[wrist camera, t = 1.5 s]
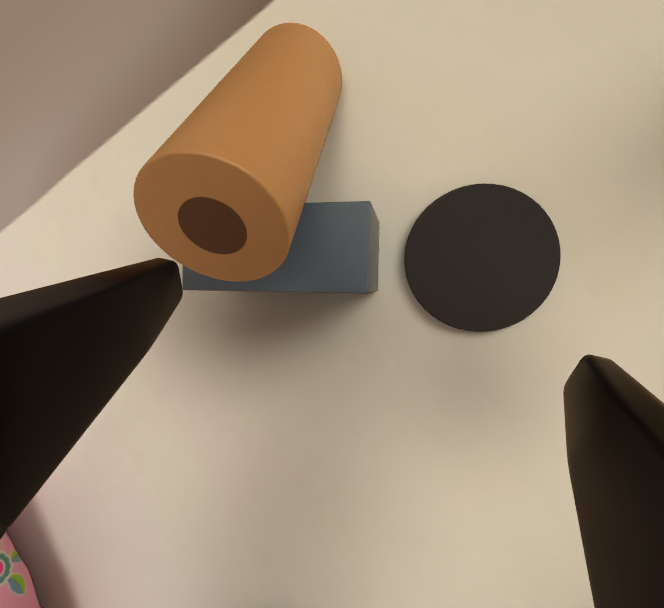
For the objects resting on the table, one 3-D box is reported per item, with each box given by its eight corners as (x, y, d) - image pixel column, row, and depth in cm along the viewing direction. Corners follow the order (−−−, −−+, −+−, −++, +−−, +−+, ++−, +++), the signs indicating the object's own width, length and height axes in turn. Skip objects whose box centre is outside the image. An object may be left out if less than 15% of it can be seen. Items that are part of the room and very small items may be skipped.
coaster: (487, 360, 21) (489, 361, 21) (376, 270, 22) (375, 270, 21) (592, 245, 20) (595, 245, 19) (469, 155, 21) (470, 153, 20)
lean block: (377, 290, 22) (368, 293, 16) (233, 288, 24) (181, 290, 18) (379, 221, 22) (370, 200, 16) (233, 223, 23) (181, 205, 18)
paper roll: (344, 281, 22) (268, 283, 10) (264, 280, 23) (103, 281, 11) (347, 59, 21) (269, -244, 9) (264, 67, 22) (89, -198, 10)
